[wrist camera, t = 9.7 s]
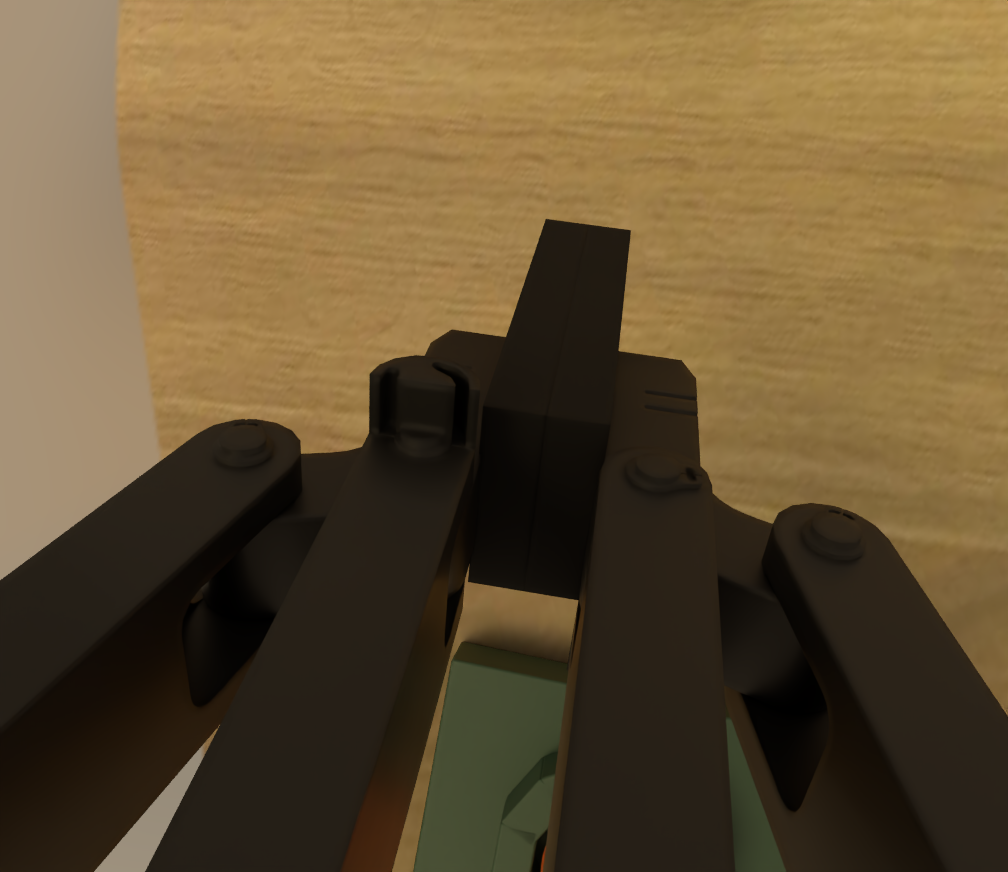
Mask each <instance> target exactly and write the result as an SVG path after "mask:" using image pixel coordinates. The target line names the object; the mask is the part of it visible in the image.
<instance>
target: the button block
mask: <svg viewBox="0 0 1008 872" xmlns="http://www.w3.org/2000/svg"><path fill="white" fill-rule="evenodd" d="M567 665H568V664H567V663H562V662H557V661H552V660H548V659H543V658H538V657H533V656H529V655H524V654H519V653H514V652H510V651H505V650H500V649H495V648H491V647H486V646H481V645H476V644H472V643H467V642H462V643H461V644H460V646H459V648H458V650H457V652H456V654H455V655H454V657H453V659H452V661H451V667H450V672H449V678H448V683H447V689H446V694H445V700H444V705H443V711H442V716H441V722H440V727H439V733H438V738H437V744H436V749H435V754H434V760H433V765H432V771H431V776H430V782H429V787H428V793H427V798H426V804H425V809H424V815H423V820H422V826H421V831H420V837H419V842H418V848H417V853H416V859H415V864H414V870H413V872H541V864H542V856H543V853H544V849H545V846H546V842H547V834H548V826H549V818H550V811H551V803H552V795H553V787H554V779H555V772H556V764H557V756H558V748H559V740H560V733H561V725H562V717H563V709H564V701H565V694H566V686H567V678H568V670H567ZM725 710H726V726H727V743H728V760H729V776H730V793H731V809H732V826H733V842H734V859H735V872H786V869H785V867H784V864H783V861H782V858H781V856H780V853H779V850H778V847H777V844H776V842H775V839H774V836H773V833H772V831H771V828H770V825H769V822H768V820H767V817H766V814H765V811H764V808H763V806H762V803H761V800H760V797H759V795H758V792H757V789H756V786H755V784H754V781H753V778H752V775H751V772H750V770H749V767H748V764H747V761H746V759H745V756H744V753H743V750H742V748H741V745H740V742H739V739H738V736H737V734H736V731H735V728H734V725H733V723H732V720H731V717H730V714H729V712H728V709H727V706H726V703H725Z"/></svg>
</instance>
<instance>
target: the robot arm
mask: <svg viewBox="0 0 1008 872" xmlns="http://www.w3.org/2000/svg"><path fill="white" fill-rule="evenodd" d="M630 234H631V230H624V229H617V228H609V227H602V226H594V225H587V224H579V223H572V222H564V221H557V220H549V219H546V220H545V223H544V226H543V229H542V232H541V235H540V238H539V241H538V244H537V247H536V250H535V253H534V256H533V259H532V262H531V265H530V268H529V271H528V274H527V277H526V280H525V283H524V286H523V288H522V291H521V294H520V297H519V300H518V303H517V306H516V309H515V312H514V315H513V318H512V321H511V324H510V327H509V330H508V333H507V336H506V337H500V336H493V335H486V334H479V333H472V332H465V331H458V330H450V331H449V332H447V333H446V334H444V335H442V336H441V337H439V338H438V339H436V340H435V341H433V342H431V344H430V346H429V348H428V350H427V352H426V354H425V356H417V355H415V356H408V357H401V358H395V359H392V360H390V361H387V362H385V363H382V364H380V365H379V366H378V367H377V368H376V369H374V370H373V371H372V372H371V373H370V406H369V435H368V436H367V438H366V440H365V442H364V444H363V446H362V447H360V448H356V449H353V450H349V451H342V452H332V453H311V454H301V446H300V440H299V439H298V438H297V436H296V435H295V434H294V433H293V431H292V430H290V429H288V428H286V427H284V426H281V425H279V424H277V423H274V422H268V421H263V420H257V419H248V420H245V419H241V420H233V421H229V422H225V423H221V424H217V425H213V426H211V427H209V428H208V429H206V430H204V431H202V432H200V433H198V434H196V435H195V436H194V437H192V438H191V439H190V440H188V441H187V442H186V443H184V444H183V445H182V446H180V447H179V448H178V449H176V450H175V451H174V452H172V453H171V454H170V455H168V456H167V457H166V458H164V459H163V460H161V461H160V462H159V463H157V464H156V465H155V466H153V467H152V468H151V469H150V470H148V471H147V472H146V473H144V474H143V475H141V476H140V477H139V478H137V479H136V480H135V481H133V482H132V483H131V484H129V485H128V486H127V487H125V488H124V489H123V490H121V491H120V492H118V493H117V494H116V495H114V496H113V497H112V498H110V499H109V500H108V501H106V502H105V503H104V504H102V505H101V506H100V507H98V508H97V509H96V510H94V511H93V512H92V513H90V514H89V515H88V516H86V517H85V518H84V519H82V520H81V521H80V522H78V523H77V524H75V525H74V526H73V527H71V528H70V529H69V530H68V531H66V532H65V533H64V534H62V535H61V536H59V537H58V538H57V539H55V540H54V541H53V542H51V543H50V544H49V545H47V546H46V547H45V548H43V549H42V550H40V551H39V552H38V553H37V554H35V555H34V556H32V557H31V558H30V559H28V560H27V561H26V562H24V563H23V564H22V565H20V566H19V567H18V568H16V569H15V570H14V571H12V572H11V573H10V574H8V575H7V576H6V577H4V578H3V579H1V580H0V872H94V871H95V870H96V869H97V867H98V866H99V865H100V864H101V863H102V861H103V860H104V859H105V858H106V857H107V856H108V855H109V853H110V852H111V851H112V850H113V849H114V848H115V846H116V845H117V844H118V843H119V842H120V841H121V839H122V838H123V837H124V836H125V835H126V834H127V832H128V831H129V830H130V829H131V828H132V827H133V825H134V824H135V823H136V822H137V821H138V820H139V818H140V817H141V816H142V815H143V814H144V813H145V811H146V810H147V809H148V808H149V807H150V805H151V804H152V803H153V802H154V801H155V800H156V799H157V797H158V796H159V795H160V794H161V793H162V792H163V790H164V789H165V788H166V787H167V786H168V785H169V783H170V782H171V781H172V780H173V779H174V778H175V776H176V775H177V774H178V773H179V772H180V770H181V769H182V768H183V767H184V766H185V765H186V764H187V762H188V761H189V760H190V759H191V758H192V757H193V755H194V754H195V753H196V752H197V751H198V750H199V748H200V747H201V746H202V745H203V744H204V743H205V741H206V740H207V739H208V738H209V737H210V736H211V734H212V733H213V732H214V731H215V730H216V729H217V727H218V726H219V725H220V726H219V728H218V730H217V732H216V734H215V736H214V738H213V740H212V742H211V744H210V746H209V748H208V750H207V752H206V754H205V756H204V758H203V760H202V762H201V763H200V765H199V767H198V769H197V771H196V773H195V775H194V777H193V779H192V781H191V783H190V785H189V787H188V789H187V791H186V793H185V795H184V797H183V799H182V801H181V803H180V805H179V807H178V809H177V810H176V812H175V814H174V816H173V818H172V820H171V822H170V824H169V826H168V828H167V830H166V832H165V834H164V836H163V838H162V840H161V842H160V844H159V846H158V848H157V850H156V852H155V854H154V856H153V858H152V860H151V861H150V863H149V866H148V867H147V869H146V871H145V872H392V869H393V865H394V861H395V857H396V854H397V850H398V846H399V843H400V839H401V835H402V831H403V828H404V824H405V820H406V817H407V813H408V809H409V805H410V802H411V798H412V794H413V791H414V787H415V783H416V780H417V776H418V772H419V768H420V765H421V761H422V757H423V754H424V750H425V746H426V742H427V739H428V735H429V731H430V728H431V724H432V720H433V716H434V713H435V709H436V705H437V702H438V698H439V694H440V691H441V687H442V683H443V679H444V676H445V672H446V668H447V665H448V661H449V657H450V653H451V650H452V646H453V642H454V639H455V635H456V631H457V627H458V624H459V620H460V616H461V613H462V608H463V596H464V583H465V577H466V574H467V570H468V567H469V577H468V582H472V583H478V584H484V585H490V586H496V587H502V588H508V589H514V590H520V591H526V592H532V593H538V594H544V595H550V596H556V597H562V598H568V599H574V600H579V601H578V607H577V613H576V619H575V624H574V630H573V636H572V642H571V648H570V653H569V659H568V665H567V670H568V678H567V686H566V694H565V701H564V709H563V717H562V725H561V733H560V740H559V748H558V756H557V764H556V772H555V779H554V787H553V795H552V803H551V811H550V818H549V826H548V834H547V842H546V850H545V857H544V865H543V872H735V859H734V842H733V826H732V809H731V793H730V776H729V760H728V743H727V726H726V710H725V703H726V706H727V709H728V712H729V714H730V717H731V720H732V723H733V725H734V728H735V731H736V734H737V736H738V739H739V742H740V745H741V748H742V750H743V753H744V756H745V759H746V761H747V764H748V767H749V770H750V772H751V775H752V778H753V781H754V784H755V786H756V789H757V792H758V795H759V797H760V800H761V803H762V806H763V808H764V811H765V814H766V817H767V820H768V822H769V825H770V828H771V831H772V833H773V836H774V839H775V842H776V844H777V847H778V850H779V853H780V856H781V858H782V861H783V864H784V867H785V869H786V872H1008V716H1007V715H1006V713H1005V712H1004V710H1003V709H1002V707H1001V706H1000V704H999V703H998V701H997V700H996V698H995V697H994V695H993V694H992V692H991V691H990V689H989V688H988V686H987V685H986V683H985V682H984V680H983V679H982V677H981V676H980V674H979V673H978V671H977V670H976V668H975V667H974V665H973V664H972V662H971V661H970V659H969V658H968V657H967V655H966V654H965V652H964V651H963V649H962V648H961V646H960V645H959V643H958V642H957V640H956V639H955V637H954V636H953V634H952V633H951V631H950V630H949V628H948V627H947V625H946V624H945V622H944V621H943V619H942V618H941V616H940V615H939V613H938V612H937V610H936V609H935V607H934V606H933V604H932V603H931V601H930V600H929V598H928V597H927V595H926V594H925V593H924V591H923V590H922V588H921V587H920V585H919V584H918V582H917V581H916V579H915V578H914V576H913V575H912V573H911V572H910V570H909V569H908V567H907V566H906V564H905V563H904V561H903V560H902V558H901V557H900V555H899V554H898V552H897V551H896V549H895V548H894V546H893V545H892V543H891V542H890V540H889V539H888V538H887V537H886V536H885V535H884V534H883V533H882V532H881V531H880V530H879V529H878V528H877V527H876V526H875V525H874V524H872V523H870V522H869V521H867V520H865V519H864V518H862V517H860V516H859V515H857V514H855V513H853V512H850V511H848V510H844V509H842V508H839V507H835V506H830V505H822V504H815V503H808V504H800V505H792V506H790V507H788V508H787V509H785V510H783V511H781V512H779V513H778V515H777V517H776V519H775V521H774V523H773V524H771V523H768V522H765V521H762V520H760V519H757V518H754V517H751V516H749V515H747V514H744V513H742V512H740V511H738V510H735V509H733V508H732V507H730V506H728V505H727V504H725V503H724V502H722V501H721V500H719V499H718V498H717V497H716V496H715V495H714V494H713V493H712V484H711V482H710V479H709V476H708V474H707V472H706V471H705V470H704V469H703V468H702V467H701V466H700V449H699V429H698V416H697V414H698V408H697V401H696V400H697V388H696V378H695V377H694V376H693V374H692V373H691V372H690V370H689V369H688V368H687V367H686V365H685V364H684V363H683V362H682V360H676V359H669V358H662V357H655V356H648V355H641V354H634V353H627V352H620V351H618V349H619V340H620V330H621V321H622V311H623V301H624V292H625V282H626V272H627V263H628V253H629V244H630ZM469 563H470V565H469Z"/></svg>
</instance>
